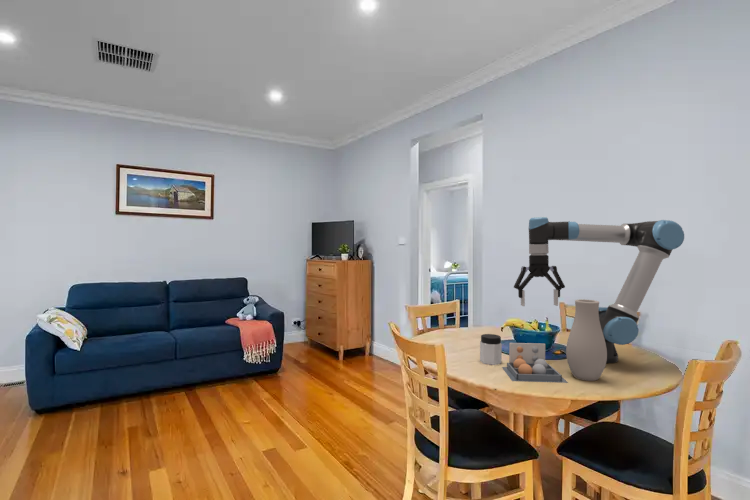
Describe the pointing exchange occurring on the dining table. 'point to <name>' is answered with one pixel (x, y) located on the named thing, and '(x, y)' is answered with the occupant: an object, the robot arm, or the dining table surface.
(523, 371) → the ball
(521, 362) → the terracotta ball
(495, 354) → the jar
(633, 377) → the dining table surface
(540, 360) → the grey ball
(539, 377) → the rack
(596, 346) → the vase
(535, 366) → the grey ball
